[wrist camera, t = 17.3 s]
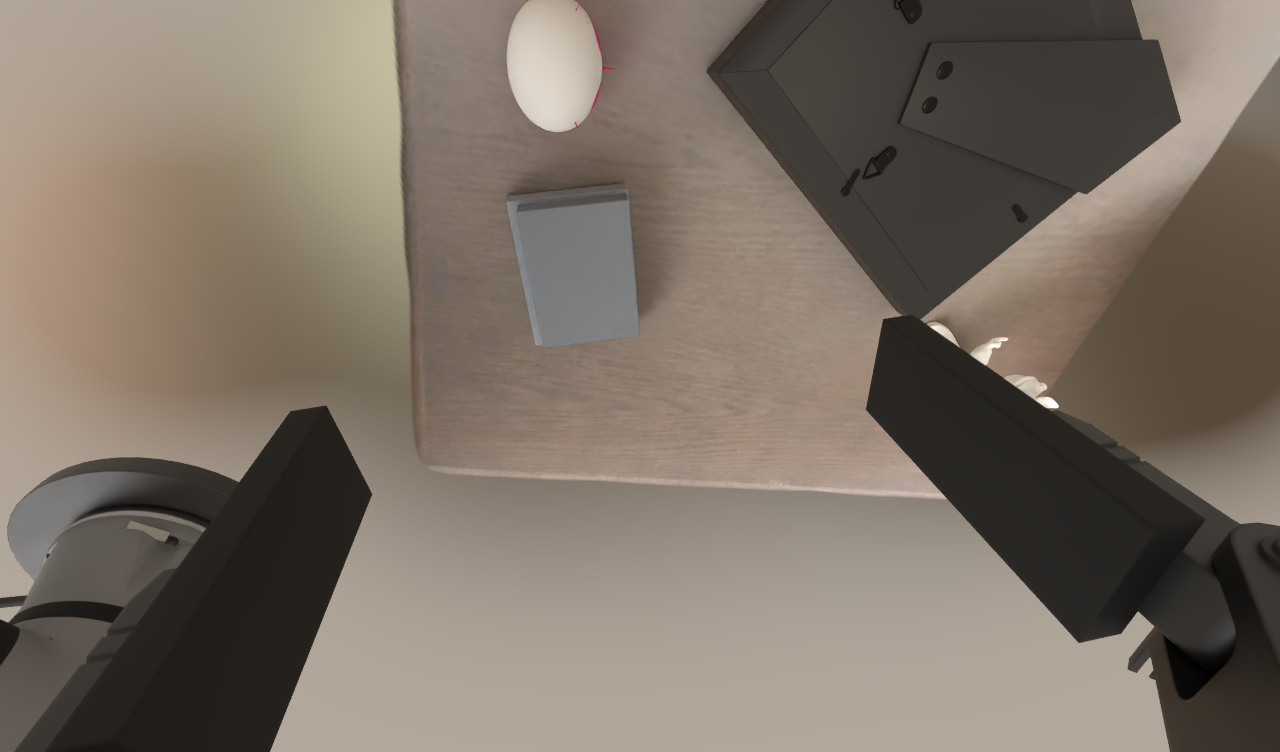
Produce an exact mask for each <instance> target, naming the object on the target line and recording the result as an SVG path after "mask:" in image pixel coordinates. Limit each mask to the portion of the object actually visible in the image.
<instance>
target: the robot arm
mask: <svg viewBox="0 0 1280 752" xmlns="http://www.w3.org/2000/svg"><path fill="white" fill-rule="evenodd" d="M866 410H867V411H868V413H869V414H870V415H871V416H872V417H873V418H874V419H875V420H876V421H877V422H878V423H879V425H880V426H881V427H882V428H883V429H884V430H885V431H886V432H887V433H888V434H889V436H890V437H891V438H892V439H893V440H894V441H895V442H896V443H897V444H898V445H899V446H900V448H901V449H902V450H903V451H904V452H905V453H906V454H907V455H908V456H909V457H910V459H911V460H912V461H913V462H914V463H915V464H916V465H917V466H918V467H919V468H920V469H921V471H922V472H923V473H924V474H925V475H926V476H927V477H928V478H929V479H930V480H931V482H932V483H933V484H934V485H935V486H936V487H937V488H938V489H939V490H940V491H941V492H942V494H943V495H944V496H945V497H946V498H947V499H948V500H949V501H950V502H951V503H952V505H953V506H954V507H955V508H956V509H957V510H958V511H959V512H960V513H961V514H962V515H963V516H964V518H965V519H966V520H967V521H968V522H969V523H970V524H971V525H972V526H973V528H974V529H975V530H976V531H977V532H978V533H979V534H980V535H981V536H982V537H983V538H984V540H985V541H986V542H987V543H988V544H989V545H990V546H991V547H992V548H993V549H994V551H995V552H996V553H997V554H998V555H999V556H1000V557H1001V558H1002V559H1003V560H1004V561H1005V562H1006V564H1007V565H1008V566H1009V567H1010V568H1011V569H1012V570H1013V571H1014V572H1015V573H1016V575H1017V576H1018V577H1019V578H1020V579H1021V580H1022V581H1023V582H1024V583H1025V584H1026V586H1027V587H1028V588H1029V589H1030V590H1031V591H1032V592H1033V593H1034V594H1035V595H1036V597H1037V598H1038V599H1039V600H1040V601H1041V602H1042V603H1043V604H1044V605H1045V606H1046V607H1047V608H1048V610H1049V611H1050V612H1051V613H1052V614H1053V615H1054V616H1055V617H1056V618H1057V619H1058V621H1059V622H1060V623H1061V624H1062V625H1063V626H1064V627H1065V628H1066V629H1067V630H1068V632H1069V633H1070V634H1071V635H1072V636H1073V637H1074V638H1075V639H1076V640H1077V641H1078V642H1079V643H1081V642H1085V641H1090V640H1094V639H1099V638H1104V637H1108V636H1113V635H1117V634H1121V633H1122V632H1123V630H1124V629H1125V628H1126V626H1127V625H1128V623H1129V622H1130V621H1131V620H1132V618H1133V617H1134V616H1135V614H1136V613H1137V612H1138V611H1139V612H1140V613H1141V614H1142V615H1143V616H1144V617H1145V618H1146V619H1147V620H1148V621H1149V622H1150V623H1151V624H1153V625H1154V626H1155V627H1154V628H1153V629H1152V631H1151V632H1150V633H1149V634H1148V636H1147V637H1146V638H1145V639H1144V641H1143V642H1142V643H1141V644H1140V646H1139V647H1138V648H1137V650H1136V651H1135V652H1134V653H1133V654H1132V656H1131V657H1130V658H1129V664H1128V670H1130V671H1133V672H1136V673H1137V672H1138V670H1139V669H1140V668H1141V667H1142V665H1143V664H1144V663H1145V662H1146V661H1147V659H1148V658H1149V657H1151V660H1152V665H1153V672H1152V673H1151V674H1150V676H1149V677H1150V678H1152V679H1154V680H1156V685H1157V689H1158V694H1159V699H1160V704H1161V709H1162V713H1163V719H1164V724H1165V729H1166V733H1167V739H1168V744H1169V748H1170V752H1280V526H1275V525H1269V524H1263V523H1249V524H1239V523H1238V522H1236V521H1234V520H1232V519H1231V518H1229V517H1228V516H1226V515H1225V514H1223V513H1222V512H1221V511H1219V510H1217V509H1216V508H1215V507H1213V506H1211V505H1210V504H1209V503H1207V502H1206V501H1204V500H1203V499H1201V498H1200V497H1198V496H1197V495H1195V494H1194V493H1192V492H1191V491H1189V490H1188V489H1186V488H1185V487H1183V486H1182V485H1180V484H1179V483H1177V482H1176V481H1174V480H1173V479H1171V478H1170V477H1168V476H1167V475H1165V474H1164V473H1162V472H1161V471H1159V470H1158V469H1156V468H1155V467H1153V466H1152V465H1150V464H1149V463H1147V462H1146V461H1145V462H1141V461H1140V457H1138V456H1137V455H1136V454H1134V453H1133V452H1131V451H1130V450H1128V449H1126V448H1125V447H1124V446H1118V445H1117V442H1116V441H1115V440H1113V439H1111V438H1110V437H1109V436H1107V435H1106V434H1104V433H1103V432H1101V431H1100V430H1098V429H1097V428H1095V427H1094V426H1092V425H1091V424H1089V423H1086V422H1084V421H1081V420H1079V419H1077V418H1075V417H1072V416H1070V415H1068V414H1065V413H1063V412H1061V411H1058V410H1057V411H1050V410H1049V409H1047V408H1046V407H1044V406H1043V405H1041V404H1040V403H1039V402H1037V401H1036V400H1034V399H1033V398H1031V397H1030V396H1029V395H1027V394H1026V393H1024V392H1023V391H1021V390H1020V389H1019V388H1017V387H1016V386H1014V385H1013V384H1011V383H1010V382H1008V381H1007V380H1006V379H1004V378H1003V377H1001V376H1000V375H998V374H997V373H996V372H994V371H993V370H991V369H990V368H988V367H987V366H986V365H984V364H983V363H981V362H980V361H978V360H977V359H975V358H974V357H973V356H971V355H970V354H968V353H967V352H965V351H964V350H963V349H961V348H960V347H958V346H957V345H955V344H954V343H953V342H951V341H950V340H948V339H947V338H945V337H944V336H943V335H941V334H940V333H938V332H937V331H935V330H934V329H932V328H931V327H930V326H928V325H927V324H925V323H924V322H922V321H921V320H920V319H918V318H917V317H915V316H914V315H907V316H900V317H894V318H888V319H883V323H882V328H881V333H880V338H879V344H878V349H877V354H876V360H875V365H874V370H873V375H872V381H871V386H870V391H869V396H868V402H867V407H866ZM371 496H372V493H371V491H370V489H369V487H368V485H367V483H366V481H365V479H364V477H363V476H362V473H361V472H360V470H359V468H358V466H357V464H356V462H355V460H354V458H353V456H352V454H351V452H350V450H349V449H348V446H347V444H346V442H345V441H344V439H343V437H342V435H341V433H340V431H339V429H338V427H337V426H336V423H335V421H334V419H333V417H332V416H331V414H330V412H329V410H328V408H327V406H321V407H315V408H309V409H302V410H296V411H291V412H290V413H289V414H288V415H287V417H286V418H285V420H284V421H283V422H282V424H281V425H280V427H279V428H278V429H277V431H276V432H275V433H274V435H273V436H272V438H271V439H270V440H269V442H268V443H267V445H266V446H265V447H264V449H263V450H262V451H261V453H260V454H259V456H258V457H257V459H256V460H255V461H254V463H253V464H252V465H251V467H250V468H249V469H248V471H247V472H246V474H245V475H244V476H243V478H242V479H241V481H240V482H239V483H238V485H237V486H236V488H235V489H234V490H233V492H232V493H231V494H230V496H229V497H228V499H227V500H226V501H225V503H224V504H223V506H222V507H221V508H220V510H219V511H218V512H217V514H216V515H215V517H214V518H213V519H212V521H209V520H207V519H204V518H202V517H200V516H197V515H194V514H192V513H188V512H185V511H182V510H178V509H174V508H169V507H164V506H157V505H147V504H122V505H113V506H108V507H103V508H99V509H96V510H93V511H90V512H88V513H86V514H83V515H82V516H80V517H78V518H77V519H75V520H74V521H73V522H72V523H71V524H70V525H69V526H68V527H67V528H66V529H65V530H64V531H63V532H62V533H61V534H60V535H59V536H58V537H57V538H56V539H55V541H54V542H53V543H52V545H51V546H50V548H49V549H48V551H47V553H46V556H45V559H44V561H43V567H42V569H41V571H40V572H39V574H38V576H37V578H36V580H35V582H34V584H33V586H32V588H31V590H30V592H29V594H28V595H27V596H16V597H6V598H0V608H3V607H14V606H22V607H21V609H20V611H19V612H18V613H17V614H16V615H15V616H14V617H13V619H11V620H10V621H9V622H8V623H7V622H5V621H3V620H0V752H270V750H271V748H272V745H273V743H274V740H275V737H276V735H277V733H278V730H279V727H280V725H281V722H282V720H283V718H284V715H285V712H286V710H287V707H288V705H289V702H290V700H291V697H292V695H293V692H294V690H295V687H296V684H297V682H298V680H299V677H300V675H301V672H302V670H303V667H304V665H305V662H306V660H307V657H308V655H309V652H310V649H311V647H312V644H313V642H314V639H315V637H316V634H317V632H318V629H319V627H320V624H321V622H322V619H323V617H324V614H325V612H326V609H327V607H328V604H329V601H330V599H331V597H332V594H333V592H334V589H335V587H336V584H337V581H338V579H339V576H340V574H341V571H342V569H343V566H344V564H345V561H346V559H347V556H348V554H349V551H350V549H351V546H352V544H353V541H354V539H355V536H356V534H357V531H358V529H359V526H360V524H361V521H362V519H363V516H364V513H365V511H366V508H367V506H368V503H369V501H370V498H371Z"/></svg>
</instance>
